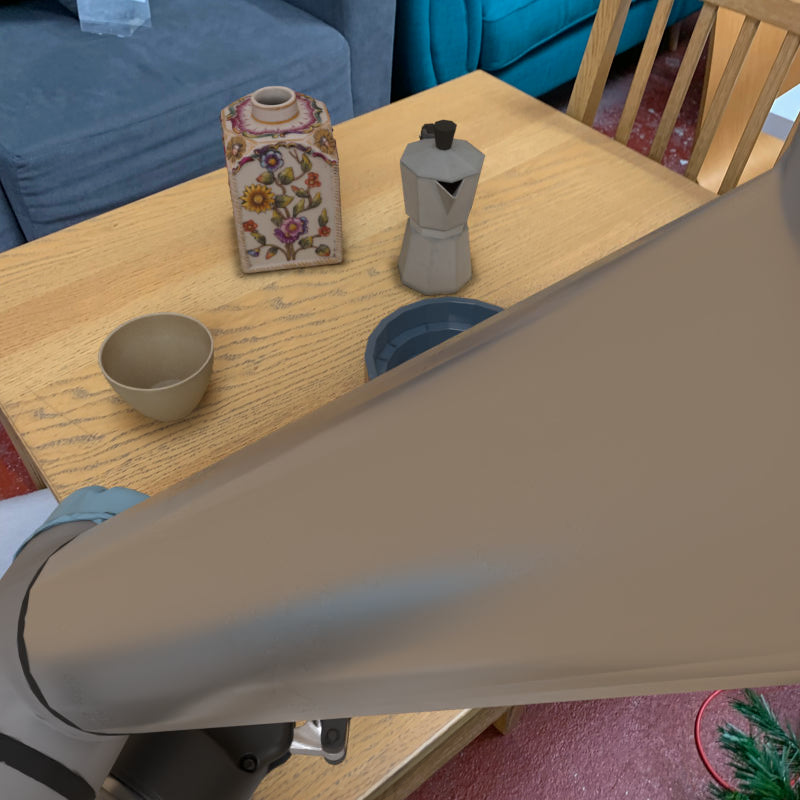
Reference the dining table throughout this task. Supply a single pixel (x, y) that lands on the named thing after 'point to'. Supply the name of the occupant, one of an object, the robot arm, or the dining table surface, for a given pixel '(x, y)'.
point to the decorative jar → (283, 180)
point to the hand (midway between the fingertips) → (402, 472)
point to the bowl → (420, 330)
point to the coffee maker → (438, 209)
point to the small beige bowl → (159, 363)
